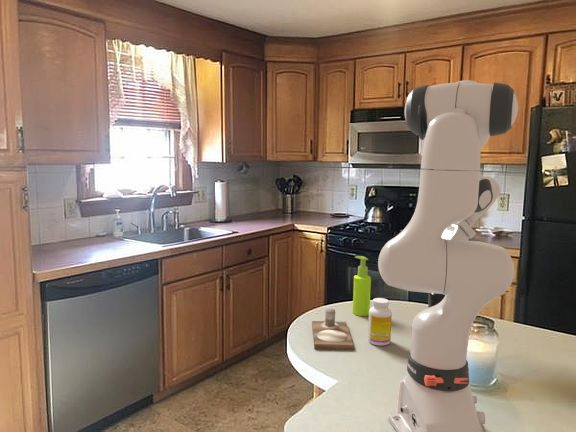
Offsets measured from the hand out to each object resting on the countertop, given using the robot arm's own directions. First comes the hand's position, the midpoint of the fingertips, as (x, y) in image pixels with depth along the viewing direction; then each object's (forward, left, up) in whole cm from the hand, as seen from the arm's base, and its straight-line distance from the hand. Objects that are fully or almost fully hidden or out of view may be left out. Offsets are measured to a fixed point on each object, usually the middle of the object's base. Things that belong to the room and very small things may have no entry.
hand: (420, 255), depth 137 cm
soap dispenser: (+23, +13, -26) cm, 37 cm away
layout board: (+1, +25, -26) cm, 36 cm away
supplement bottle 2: (+19, -13, -26) cm, 35 cm away
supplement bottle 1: (-2, +11, -26) cm, 29 cm away
